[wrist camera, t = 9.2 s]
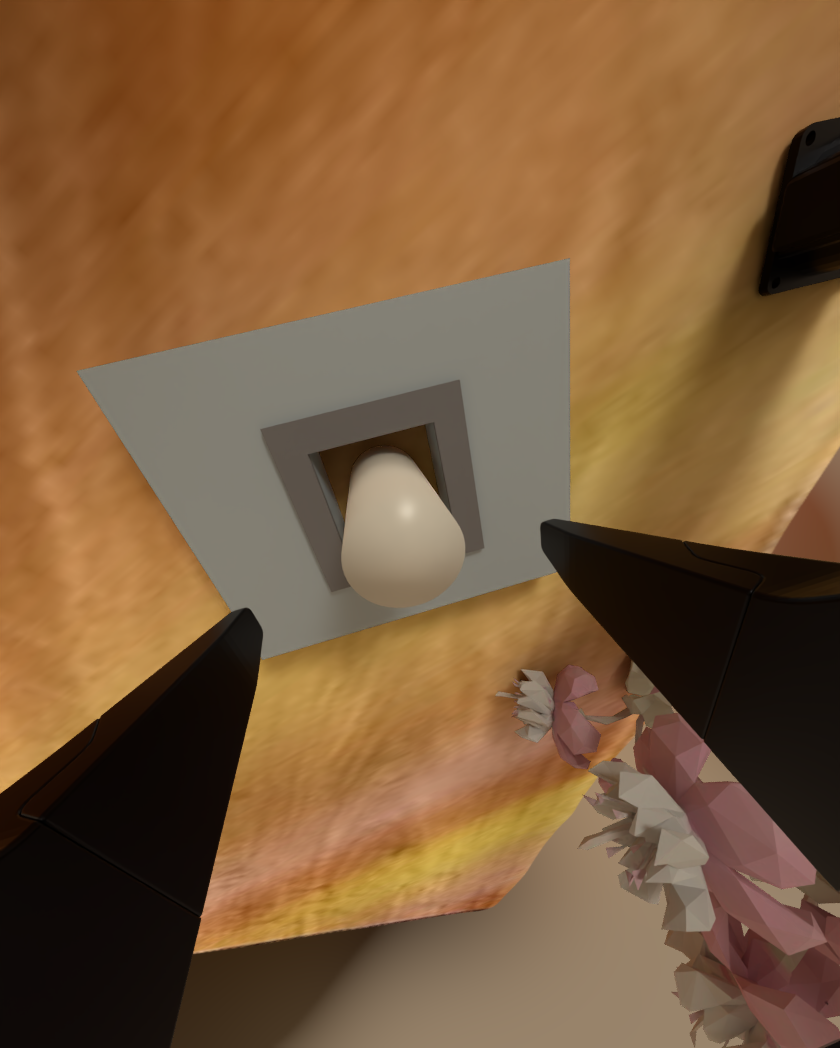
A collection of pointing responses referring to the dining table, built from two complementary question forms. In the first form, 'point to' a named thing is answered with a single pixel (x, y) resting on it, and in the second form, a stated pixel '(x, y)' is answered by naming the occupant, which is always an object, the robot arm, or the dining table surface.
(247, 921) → the dining table surface
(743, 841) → the flower
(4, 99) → the dining table surface
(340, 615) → the socket plate
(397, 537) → the peg
